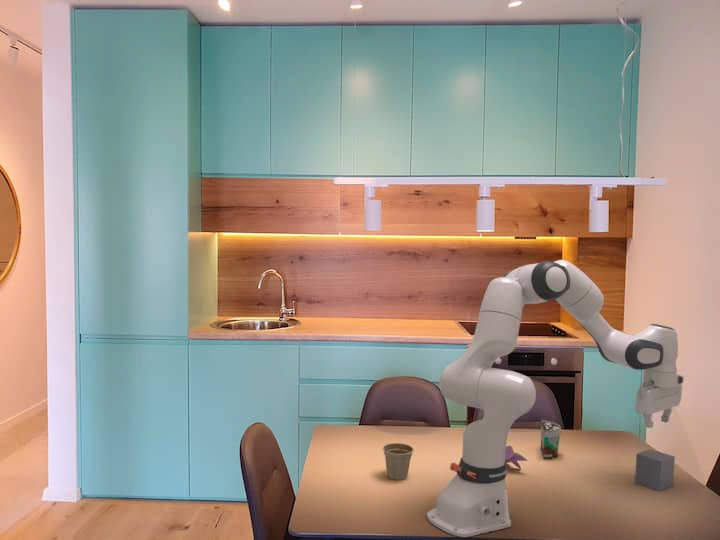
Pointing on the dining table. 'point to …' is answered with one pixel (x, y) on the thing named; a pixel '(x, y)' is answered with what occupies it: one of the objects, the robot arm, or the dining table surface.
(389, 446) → the flower pot
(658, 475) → the gray rectangular box
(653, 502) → the dining table surface
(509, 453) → the lily
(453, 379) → the robot arm
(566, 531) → the dining table surface
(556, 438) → the food container
